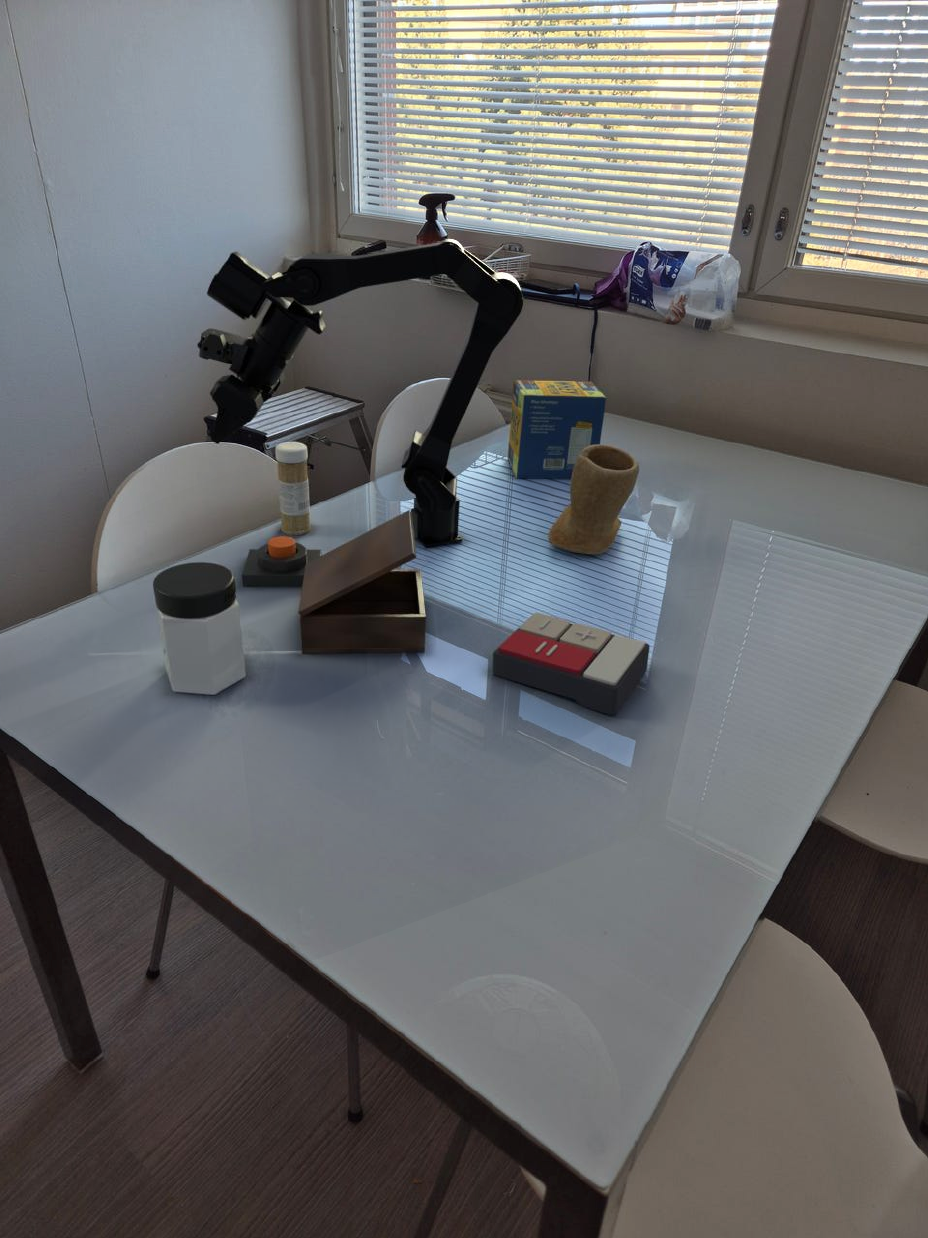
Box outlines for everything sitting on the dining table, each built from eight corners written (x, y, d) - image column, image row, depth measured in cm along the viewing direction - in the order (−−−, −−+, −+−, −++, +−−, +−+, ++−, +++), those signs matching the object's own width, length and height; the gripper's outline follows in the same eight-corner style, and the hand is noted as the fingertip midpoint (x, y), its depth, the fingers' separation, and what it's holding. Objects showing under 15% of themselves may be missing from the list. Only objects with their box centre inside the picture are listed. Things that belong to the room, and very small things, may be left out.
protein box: (506, 459, 159) (512, 379, 151) (583, 460, 161) (593, 381, 153) (515, 478, 150) (522, 394, 142) (596, 479, 152) (608, 396, 144)
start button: (296, 547, 113) (296, 536, 112) (294, 559, 110) (293, 547, 109) (270, 547, 113) (269, 535, 112) (267, 558, 110) (266, 547, 109)
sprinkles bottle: (301, 522, 128) (297, 438, 122) (316, 532, 126) (312, 447, 119) (275, 528, 126) (269, 443, 119) (290, 539, 123) (284, 452, 116)
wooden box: (419, 602, 108) (420, 568, 106) (424, 652, 97) (425, 617, 95) (309, 602, 106) (307, 568, 104) (301, 653, 96) (299, 617, 93)
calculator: (533, 607, 101) (651, 638, 94) (532, 638, 103) (647, 670, 96) (491, 646, 92) (618, 683, 86) (490, 679, 94) (614, 717, 88)
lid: (411, 514, 102) (409, 509, 101) (416, 557, 91) (413, 552, 91) (308, 568, 104) (305, 563, 104) (301, 616, 93) (298, 612, 93)
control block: (321, 561, 117) (320, 539, 115) (318, 587, 110) (317, 564, 108) (250, 561, 116) (248, 538, 114) (242, 587, 109) (240, 564, 107)
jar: (252, 687, 89) (243, 590, 83) (175, 704, 86) (159, 604, 80) (234, 647, 96) (224, 555, 90) (162, 661, 93) (146, 566, 87)
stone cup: (616, 567, 120) (631, 470, 112) (538, 551, 124) (549, 455, 116) (637, 530, 132) (652, 440, 125) (566, 516, 136) (577, 428, 128)
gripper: (240, 294, 118) (192, 383, 124) (202, 317, 102) (149, 418, 108) (307, 340, 121) (257, 425, 127) (280, 370, 105) (224, 465, 111)
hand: (223, 431), depth 118 cm, fingers open, 9 cm apart
